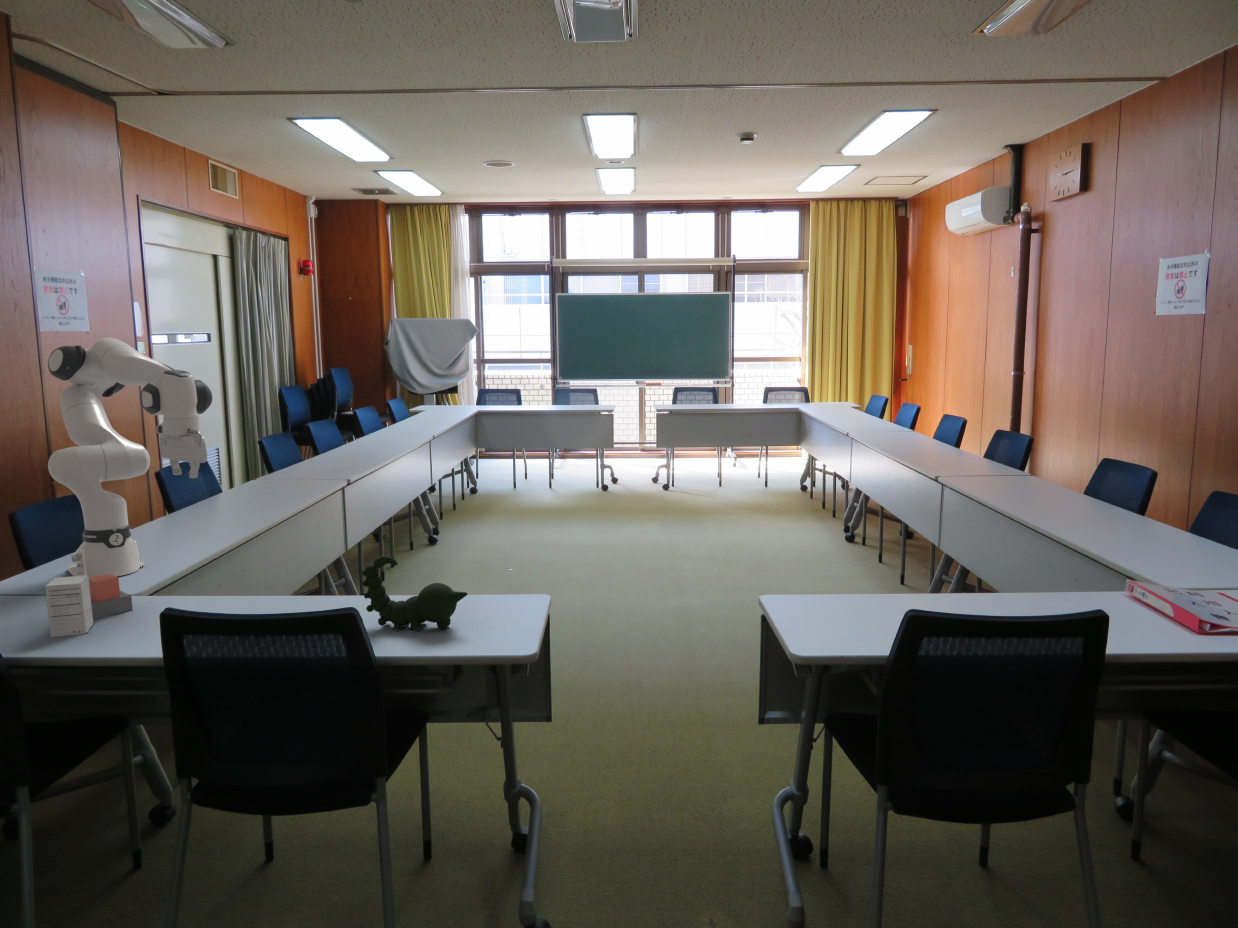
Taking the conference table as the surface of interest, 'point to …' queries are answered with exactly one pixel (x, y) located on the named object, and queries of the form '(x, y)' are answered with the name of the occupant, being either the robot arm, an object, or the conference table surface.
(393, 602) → the toy figurine
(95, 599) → the red cube
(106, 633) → the conference table surface
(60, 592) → the supplement box
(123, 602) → the block
